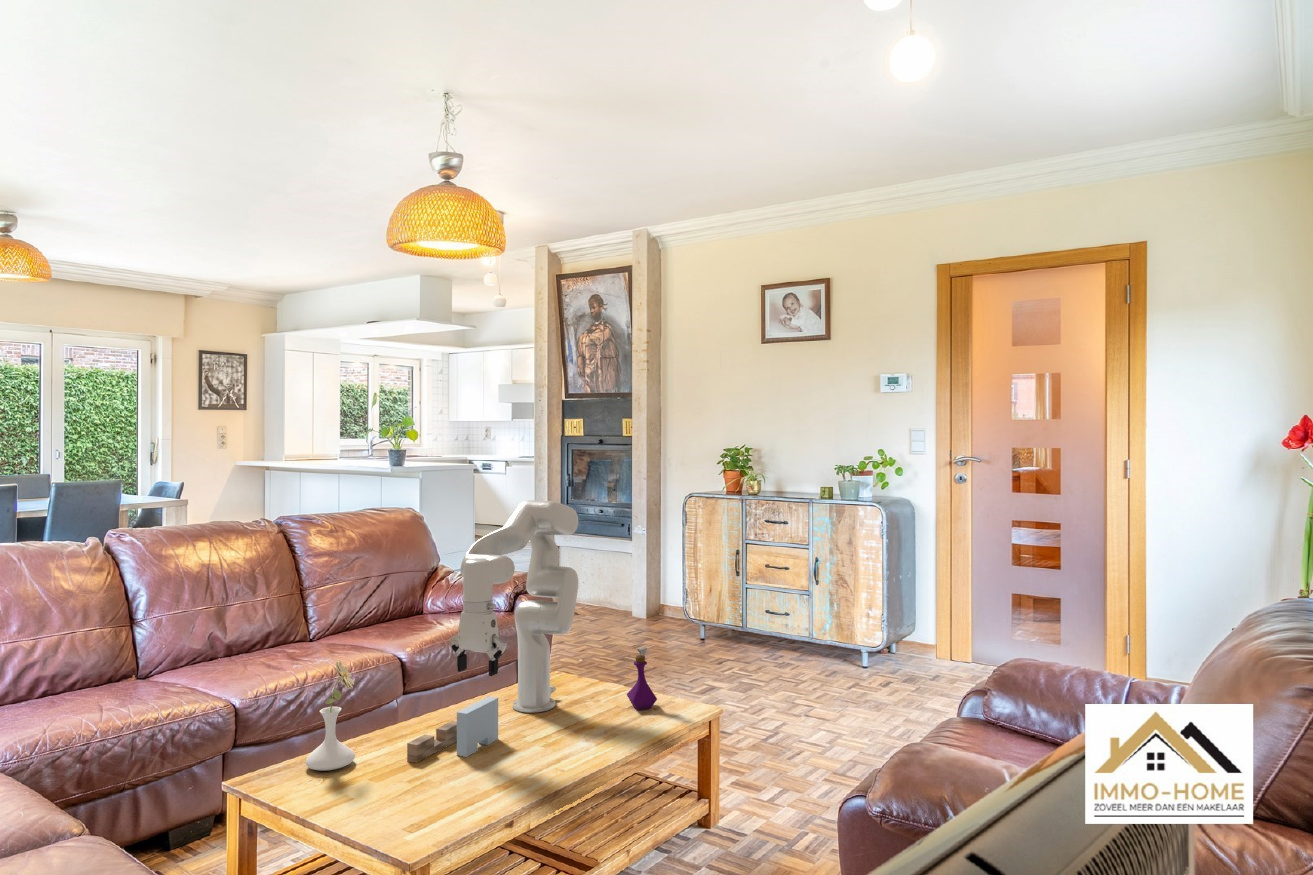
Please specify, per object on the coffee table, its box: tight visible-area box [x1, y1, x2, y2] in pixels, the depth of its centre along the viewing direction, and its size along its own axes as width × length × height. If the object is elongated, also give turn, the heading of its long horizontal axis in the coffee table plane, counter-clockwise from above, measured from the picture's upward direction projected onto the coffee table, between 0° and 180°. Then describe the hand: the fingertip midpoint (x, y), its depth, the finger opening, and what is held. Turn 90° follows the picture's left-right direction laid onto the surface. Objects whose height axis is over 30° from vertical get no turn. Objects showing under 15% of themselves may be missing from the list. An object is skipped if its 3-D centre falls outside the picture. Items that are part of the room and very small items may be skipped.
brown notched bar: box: [406, 720, 457, 764], centre depth 216 cm, size 18×3×4 cm, turn 157°
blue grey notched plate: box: [456, 696, 499, 758], centre depth 218 cm, size 3×14×11 cm, turn 157°
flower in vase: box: [304, 660, 356, 771], centre depth 206 cm, size 13×11×25 cm
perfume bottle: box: [626, 647, 658, 711], centre depth 250 cm, size 8×8×18 cm
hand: (477, 672), depth 218 cm, fingers open, 9 cm apart
